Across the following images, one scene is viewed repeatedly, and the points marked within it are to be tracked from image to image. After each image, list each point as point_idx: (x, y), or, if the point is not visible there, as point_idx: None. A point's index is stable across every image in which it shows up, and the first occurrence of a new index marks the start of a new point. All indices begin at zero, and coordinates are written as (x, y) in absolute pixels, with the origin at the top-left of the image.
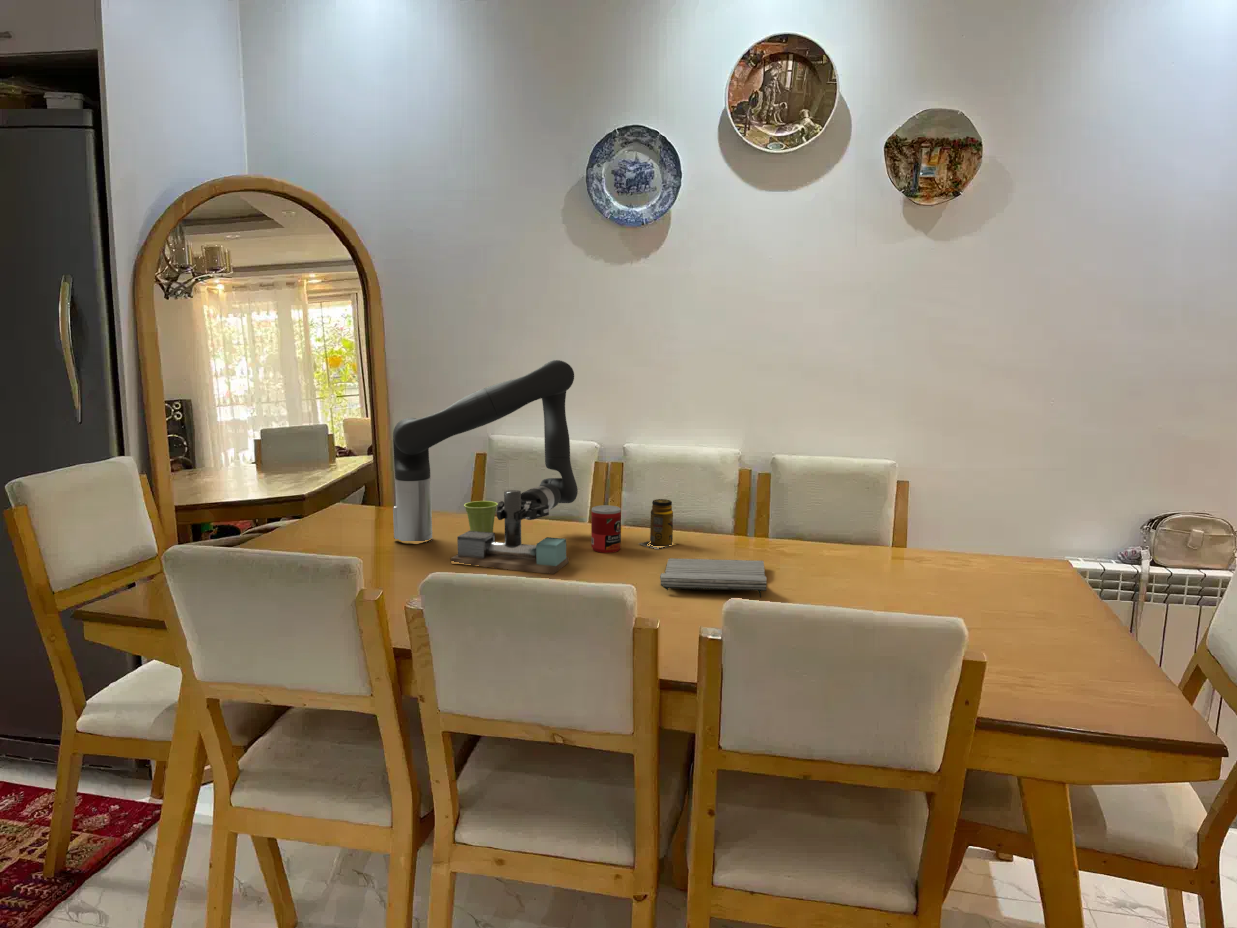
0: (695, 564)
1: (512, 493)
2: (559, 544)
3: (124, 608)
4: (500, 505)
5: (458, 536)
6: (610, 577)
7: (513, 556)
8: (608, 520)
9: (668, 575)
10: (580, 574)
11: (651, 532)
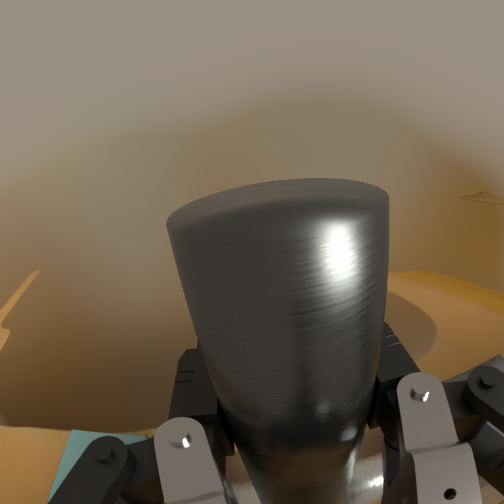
0: None
1: (231, 190)
2: (64, 462)
3: (478, 197)
4: (485, 382)
5: (501, 357)
6: (4, 452)
7: None
8: None
9: None
10: (57, 469)
11: None
